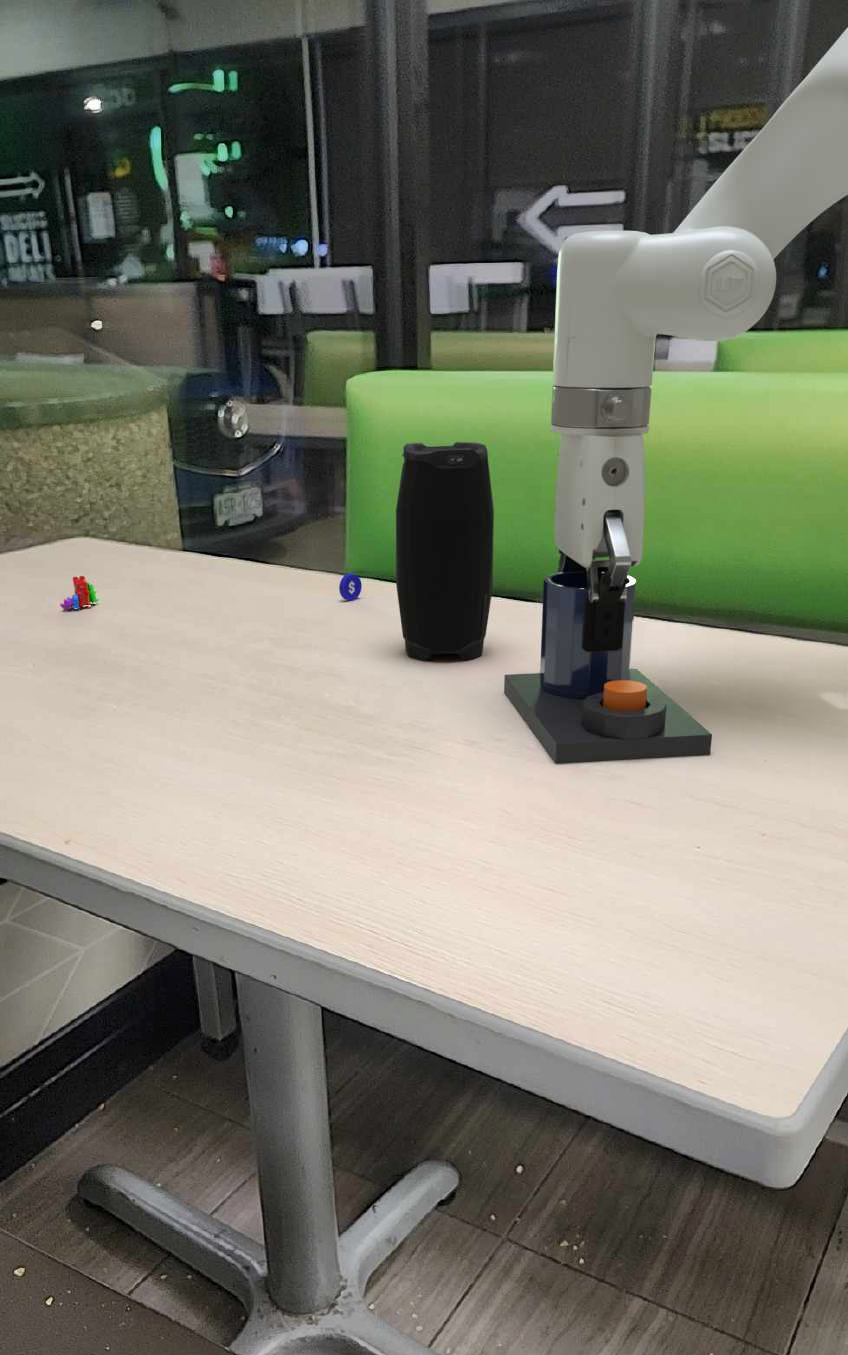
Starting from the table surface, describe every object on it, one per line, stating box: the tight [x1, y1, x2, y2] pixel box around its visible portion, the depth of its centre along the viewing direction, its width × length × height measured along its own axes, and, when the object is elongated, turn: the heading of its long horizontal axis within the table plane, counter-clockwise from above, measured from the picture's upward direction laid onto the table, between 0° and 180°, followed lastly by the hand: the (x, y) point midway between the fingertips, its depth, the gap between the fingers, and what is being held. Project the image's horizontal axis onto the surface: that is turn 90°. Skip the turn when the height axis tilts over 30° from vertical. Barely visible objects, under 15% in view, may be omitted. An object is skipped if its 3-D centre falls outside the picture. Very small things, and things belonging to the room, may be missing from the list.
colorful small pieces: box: [60, 575, 100, 611], centre depth 131 cm, size 5×3×4 cm, turn 131°
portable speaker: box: [395, 441, 495, 662], centre depth 109 cm, size 9×9×20 cm
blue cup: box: [539, 571, 637, 699], centre depth 95 cm, size 7×7×9 cm
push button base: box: [503, 668, 713, 765], centre depth 93 cm, size 12×18×4 cm, turn 9°
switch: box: [603, 680, 647, 711], centre depth 87 cm, size 3×3×2 cm
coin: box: [338, 573, 363, 601], centre depth 134 cm, size 3×1×3 cm, turn 138°
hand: (587, 636), depth 95 cm, fingers closed on blue cup, 7 cm apart
